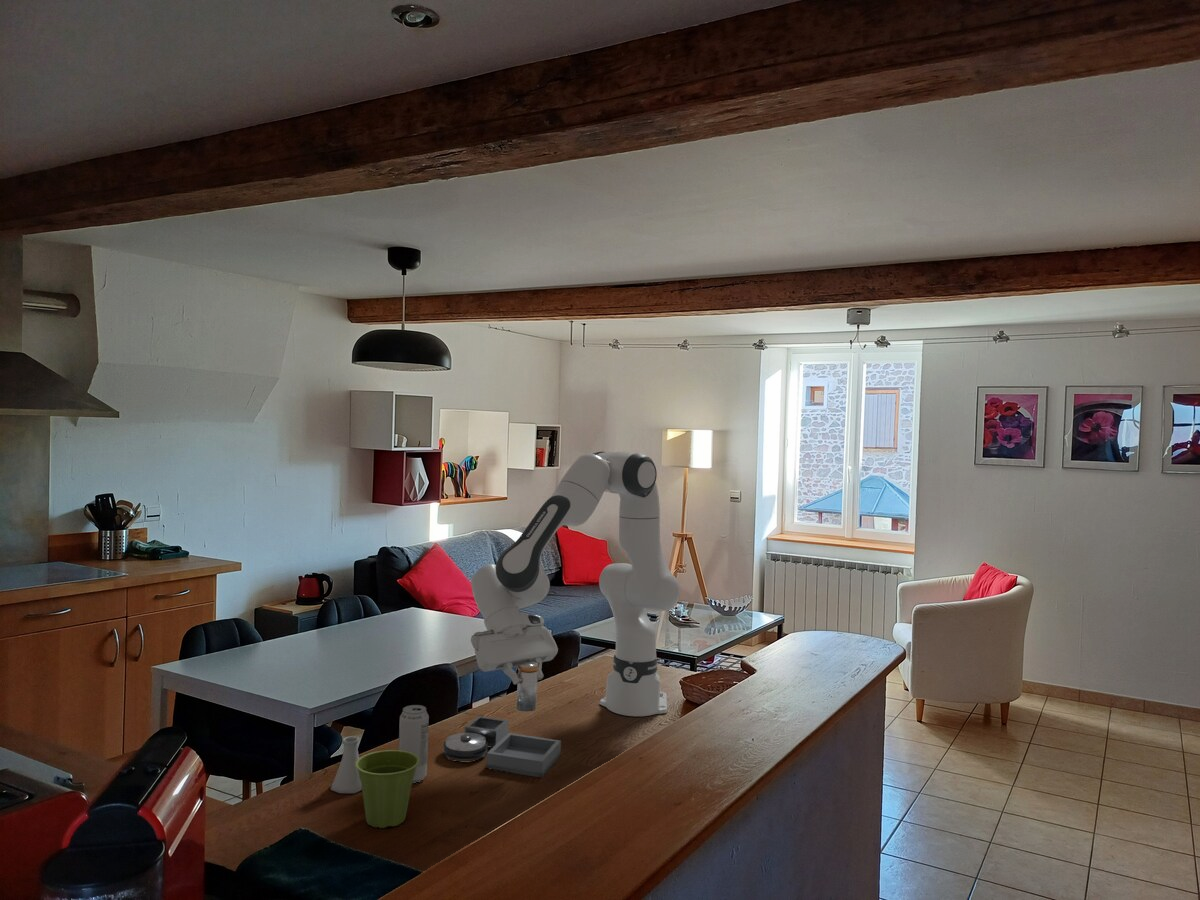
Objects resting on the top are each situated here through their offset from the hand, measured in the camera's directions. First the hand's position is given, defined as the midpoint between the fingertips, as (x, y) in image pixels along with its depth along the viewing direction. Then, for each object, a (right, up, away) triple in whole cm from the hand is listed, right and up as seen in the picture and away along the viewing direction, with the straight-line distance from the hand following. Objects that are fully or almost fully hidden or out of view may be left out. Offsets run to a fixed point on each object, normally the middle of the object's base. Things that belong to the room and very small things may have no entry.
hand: (529, 680), depth 185 cm
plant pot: (-25, -18, -29) cm, 42 cm away
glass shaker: (-1, -6, +1) cm, 6 cm away
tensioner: (-14, -18, +8) cm, 24 cm away
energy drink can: (-24, -18, -11) cm, 32 cm away
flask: (-36, -18, -16) cm, 43 cm away
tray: (-1, -19, +1) cm, 19 cm away
